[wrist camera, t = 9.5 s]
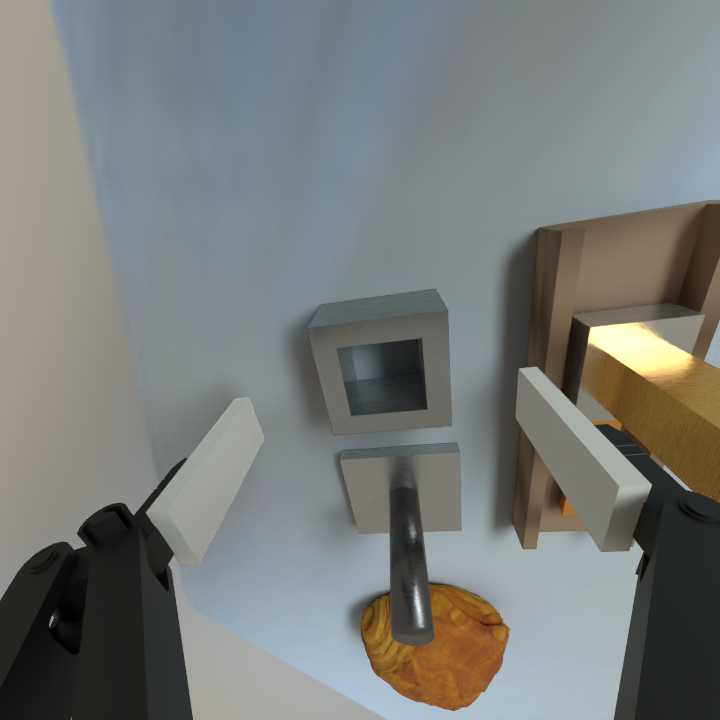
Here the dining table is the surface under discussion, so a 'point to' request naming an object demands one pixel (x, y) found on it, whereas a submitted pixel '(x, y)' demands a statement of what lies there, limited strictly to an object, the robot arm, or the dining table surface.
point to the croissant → (439, 649)
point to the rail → (605, 292)
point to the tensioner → (649, 387)
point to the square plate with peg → (406, 519)
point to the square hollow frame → (393, 394)
